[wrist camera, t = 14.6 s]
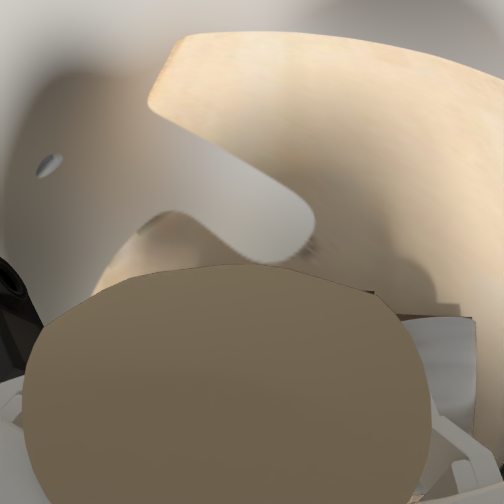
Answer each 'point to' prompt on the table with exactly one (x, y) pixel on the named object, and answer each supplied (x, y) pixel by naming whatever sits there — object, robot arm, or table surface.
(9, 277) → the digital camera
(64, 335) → the handle
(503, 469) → the dark grey chess piece
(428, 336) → the base
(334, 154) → the table surface
